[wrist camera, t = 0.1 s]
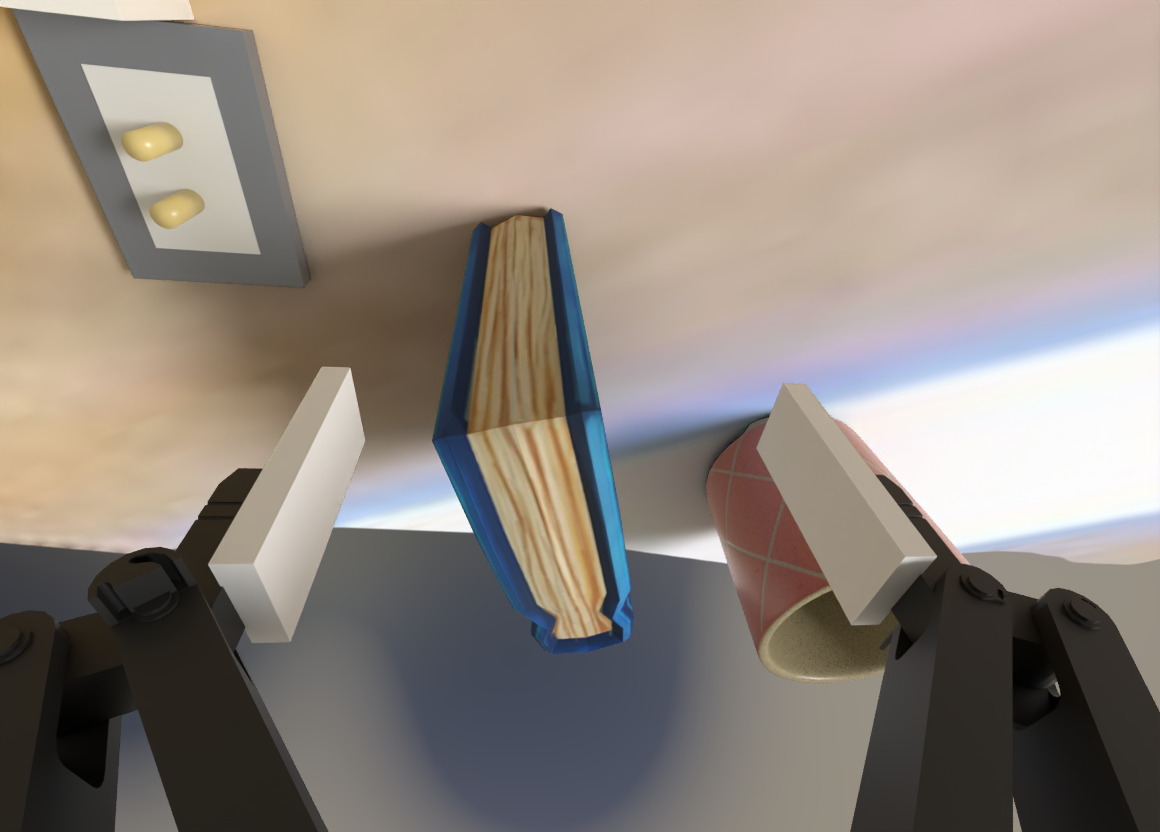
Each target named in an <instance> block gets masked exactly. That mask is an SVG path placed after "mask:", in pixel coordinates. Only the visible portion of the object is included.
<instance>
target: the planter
mask: <svg viewBox="0 0 1160 832" xmlns="http://www.w3.org/2000/svg"><path fill="white" fill-rule="evenodd" d="M768 419H769V418H764V419H760V420H757V421H754V422H753V423H751V424H750V425H749V426H748V428H747V429H746V431H745V432H744V433H743V434H742V435H741V436H740V437H739V438H738V439H737V440H735V441H734V442H733V443H732V444H731V445H729V446H728V447H727V448H726V449H725V450H724V451H723V452H722V453H721V455H720V456H719V457H718V458H717V460H716V461H715V463H714V464H713V466H712V468H711V470H710V472H709V475H708V478H707V483H706V495H707V500H708V504H709V508H710V511H711V514H712V517H713V520H714V523H715V526H716V529H717V532H718V535H719V538H720V541H721V544H722V548H723V551H724V554H725V557H726V560H727V563H728V566H729V569H730V573H731V576H732V579H733V582H734V585H735V588H736V591H737V594H738V597H739V600H740V603H741V606H742V609H743V612H744V615H745V618H746V621H747V624H748V627H749V630H750V633H751V636H752V639H753V642H754V645H755V648H756V651H757V654H758V657H759V659H760V661H761V663H762V664H763V666H764V667H765V668H766V669H767V670H768V671H770V672H771V673H773V674H775V675H777V676H779V677H782V678H784V679H788V680H792V681H798V682H806V683H832V682H842V681H849V680H856V679H860V678H866V677H870V676H874V675H877V674H881V673H884V671H885V666H886V662H887V657H888V652H889V647H890V645H888V646H887V647H886V648H885V649H884V650H881V649H879V646H880V645H881V643H882V642H883V641H884V639H885V638H886V637H887V636H888V635H889V634H890V633H891V632H892V630H893V629H894V628H895V627H896V626H897V625H898V624H899V622H898V620H897V619H896V617H895V615H894V614H893V612H892V611H891V612H890V613H889V614H888V615H887V616H886V617H885V619H884V620H883V621H882V622H881V623H880V624H879V625H851V624H850V622H849V620H848V618H847V616H846V614H845V613H844V611H843V609H842V607H841V605H840V603H839V601H838V599H837V598H836V596H835V594H834V592H833V590H832V588H831V586H830V585H829V583H828V581H827V579H826V577H825V575H824V573H823V571H822V570H821V568H820V566H819V564H818V562H817V560H816V558H815V557H814V555H813V553H812V551H811V549H810V547H809V545H808V544H807V542H806V540H805V538H804V536H803V534H802V532H801V530H800V529H799V527H798V525H797V523H796V521H795V519H794V517H793V516H792V514H791V512H790V510H789V508H788V506H787V504H786V502H785V501H784V499H783V497H782V495H781V493H780V491H779V489H778V488H777V486H776V484H775V482H774V480H773V478H772V476H771V475H770V473H769V471H768V469H767V467H766V465H765V463H764V461H763V460H762V458H761V456H760V454H759V452H758V450H757V445H758V443H759V440H760V438H761V436H762V433H763V431H764V428H765V426H766V423H767V421H768ZM832 419H833V420H834V422H835V423H836V424H837V426H838V427H839V428H840V430H841V431H842V432H843V434H844V435H845V436H846V437H847V439H848V440H849V441H850V443H851V444H852V445H853V447H854V448H855V449H856V451H857V452H858V453H859V455H860V456H861V457H862V458H863V460H864V461H865V462H866V464H867V465H868V466H869V468H870V469H871V470H872V472H873V473H874V474H875V475H885V476H886V477H887V478H889V479H890V480H891V481H893V482H894V483H895V484H896V485H898V486H899V487H900V488H901V489H902V490H903V491H904V492H905V494H906V495H907V496H908V497H909V499H910V500H911V501H912V502H913V506H916V507H917V509H918V510H919V511H920V512H921V514H922V515H923V519H926V520H927V521H928V523H929V524H930V525H931V526H932V528H933V529H934V530H935V531H936V533H937V534H938V535H939V536H940V538H941V539H942V540H943V541H944V543H945V544H946V545H947V546H948V548H949V549H950V550H951V551H952V553H953V554H954V555H955V556H956V558H957V559H958V560H959V561H960V563H961V564H968V565H970V564H969V562H968V561H967V560H966V559H965V558H964V557H963V556H962V554H961V553H960V552H959V551H958V550H957V548H956V547H955V546H954V545H953V544H952V543H951V541H950V540H949V539H948V538H947V537H946V535H945V534H944V533H943V532H942V531H941V530H940V528H939V527H938V526H937V525H936V524H935V523H934V521H933V520H932V519H931V518H930V517H929V516H928V514H927V513H926V512H925V511H924V510H923V509H922V508H921V506H920V505H919V504H918V503H917V502H916V501H915V500H914V498H913V497H912V496H911V495H910V494H909V493H908V492H907V491H906V489H905V488H904V487H903V486H902V485H901V484H900V483H899V482H898V480H897V479H896V478H895V477H894V476H893V475H892V474H891V472H890V471H889V470H888V469H887V468H886V467H885V466H884V464H883V463H882V462H881V461H880V460H879V459H878V458H877V456H876V455H875V454H874V453H873V452H872V451H871V449H870V448H869V447H868V446H867V445H866V444H865V443H864V441H863V440H862V439H861V438H860V437H859V436H858V435H857V434H856V433H855V432H854V431H853V430H852V429H851V428H850V427H848V426H847V425H846V424H844V423H843V422H841V421H839V420H836V419H834V418H832Z"/></svg>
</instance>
